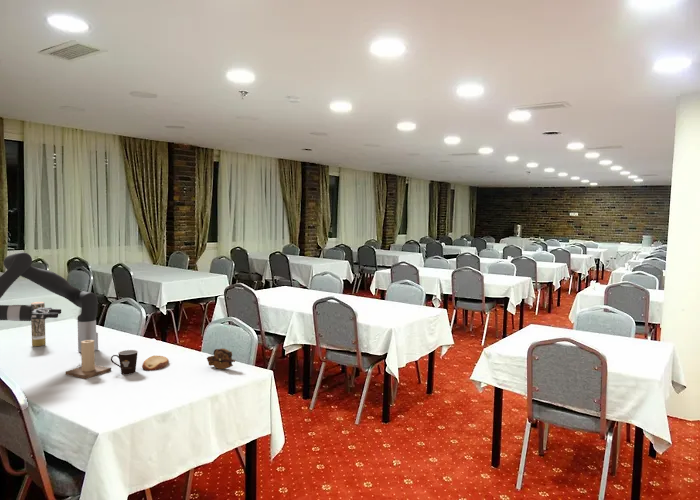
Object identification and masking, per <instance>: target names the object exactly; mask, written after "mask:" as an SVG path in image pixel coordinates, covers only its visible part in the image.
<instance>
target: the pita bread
mask: <svg viewBox="0 0 700 500" xmlns="http://www.w3.org/2000/svg"><path fill="white" fill-rule="evenodd" d="M169 362H170V361H169V359H168V357H166V356H163V355H152V356H150V357H148V358H146V359H145V360H144V361H143V363H142V365H141V367H142V369H143V370H145V371H146V372H147V371H148V372H152V371H157V370H159V369H164V368H166V367H167V366H168V365H169Z"/></svg>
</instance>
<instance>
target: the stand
mask: <svg viewBox="0 0 700 500" xmlns="http://www.w3.org/2000/svg"><path fill="white" fill-rule="evenodd" d="M111 371H112V367H108V366H104V365H98V364H95V369H94V370H92V371H86V372H85V371H82V366H80V367H76V368H73V369H69V370H65V375H66V376H70V377H74V378H75V377H76V378H79V379H84V380H86V379H89V378H93V377H96V376H99V374H100V375H102V374H105V373H108V372H109V373H110V372H111Z"/></svg>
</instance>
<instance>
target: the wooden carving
mask: <svg viewBox="0 0 700 500" xmlns="http://www.w3.org/2000/svg"><path fill="white" fill-rule="evenodd" d="M232 352H233V351H230V350H228V349H226V348H215V349H214V350H213V355H210V356H207V357H206V360H207V362H208V366H211V367H212V366H213V367H215V368H216V369H219V370H224V369H229V368H231V367H233V366H234V365H233V363H235V362H236V359H233V358H232V356H233V353H232Z"/></svg>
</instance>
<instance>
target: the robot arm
mask: <svg viewBox="0 0 700 500" xmlns="http://www.w3.org/2000/svg"><path fill="white" fill-rule="evenodd" d="M32 264H33V258H32V256H31V255H30V254H29V253H28V252H23V251H22V252H21V251H20V252H17V253H13V254H10V255H7V256H6V257H5V258H4V259H3V266H4V268H5V269H6V270H5V272H3V274H1V275H0V299H2V297H3V296H4V295H5V293H7V291H8V289H9V288H10V287H12V285H13V284H14V283H15V282H16V281H17V280H18V278H20V277H22V278H24V279H27V280H29V281H30V282H32V283H34V284H37V285H38V286H40V287H41V288H44V289H45V290H47V291H48V292H51V293H53V294H55V295H58V296H59V297H63V298H65V299H66V300H68V301H69V302H70V303H72V304H74V305H75V306H76V307H78V308H81V311H80V312H81V313H80V314H79V315H77V319H76V320H77V349H78V350H77V351H78V352H79V353H81V342H82V341H85V340H94V352H95V351H97V350H98V349H99V332H98V331H97V316H98V311H99V309H98V308H99V306H98V305H99V304H98V303H99V302H98V301H99V300H98V296H97V295H96V294H95V293H94V292H89V291H84V290H81V289H79V288H76V287H75V286H73V285H72V284H70V283H69V281H68V280H66V278H64V277H62V276H61V275H60V274H57V273H56V272H54V271H50V270H48V269H43V268H38V267H35V266H33V265H32ZM61 313H62V309H61V308H52V307H45V308H37V309H33V306H32V305H31V304H11V305H9V304H7V305H6V304H0V321H10V322H30V321H31V320H32V319H45V320H46V319H50V318H51V319H57V318H59V315H61ZM41 316H42V317H41Z"/></svg>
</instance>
